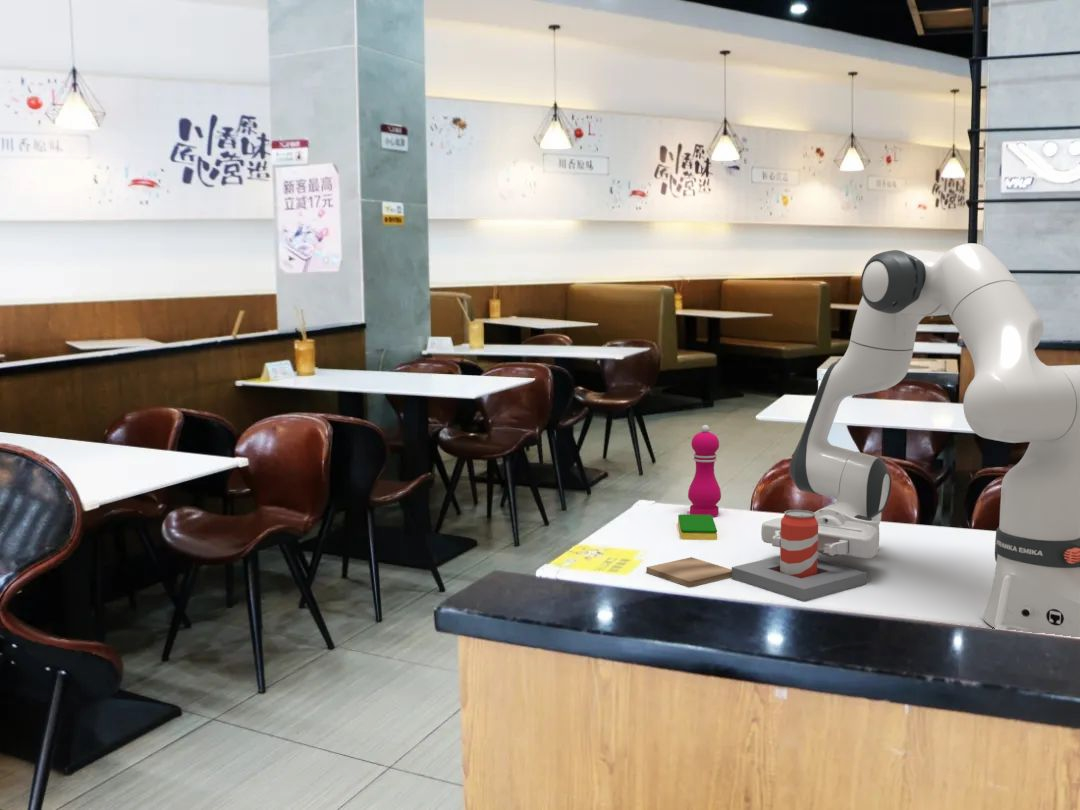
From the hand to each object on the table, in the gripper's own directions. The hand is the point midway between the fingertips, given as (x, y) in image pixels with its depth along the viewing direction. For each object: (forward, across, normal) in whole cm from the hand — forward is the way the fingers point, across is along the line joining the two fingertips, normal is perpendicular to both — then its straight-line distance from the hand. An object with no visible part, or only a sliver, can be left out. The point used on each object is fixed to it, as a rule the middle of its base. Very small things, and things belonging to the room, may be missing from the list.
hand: (801, 546), depth 178 cm
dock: (+1, 0, +6) cm, 6 cm away
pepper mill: (-34, -37, +6) cm, 51 cm away
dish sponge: (-20, -31, +6) cm, 38 cm away
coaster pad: (+8, -17, +6) cm, 20 cm away
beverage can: (+1, 0, +6) cm, 6 cm away
